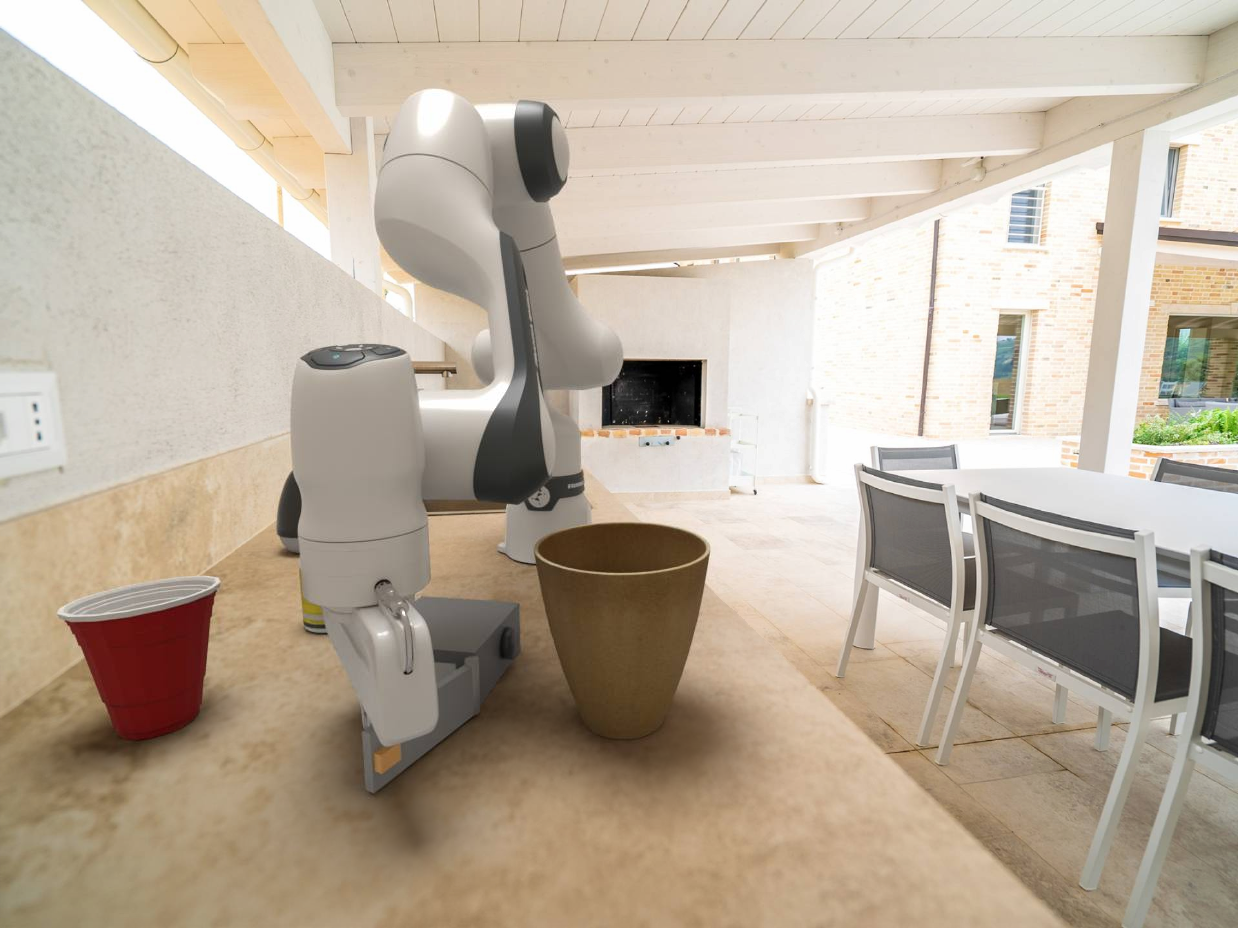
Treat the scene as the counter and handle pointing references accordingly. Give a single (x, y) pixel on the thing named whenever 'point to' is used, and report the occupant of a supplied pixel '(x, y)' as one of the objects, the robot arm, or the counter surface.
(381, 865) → the counter surface
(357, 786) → the counter surface
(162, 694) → the plastic cup
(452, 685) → the side door
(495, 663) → the box
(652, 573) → the plant pot
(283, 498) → the pump dispenser
